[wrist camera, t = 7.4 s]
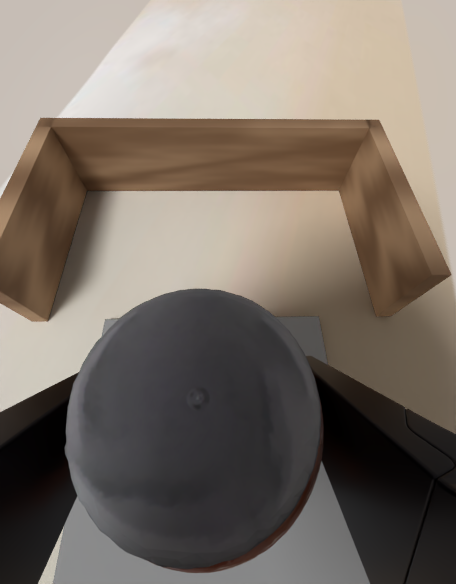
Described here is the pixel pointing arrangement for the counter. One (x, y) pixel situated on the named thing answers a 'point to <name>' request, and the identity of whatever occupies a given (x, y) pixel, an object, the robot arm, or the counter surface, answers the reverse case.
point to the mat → (250, 575)
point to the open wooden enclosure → (211, 176)
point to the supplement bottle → (195, 431)
